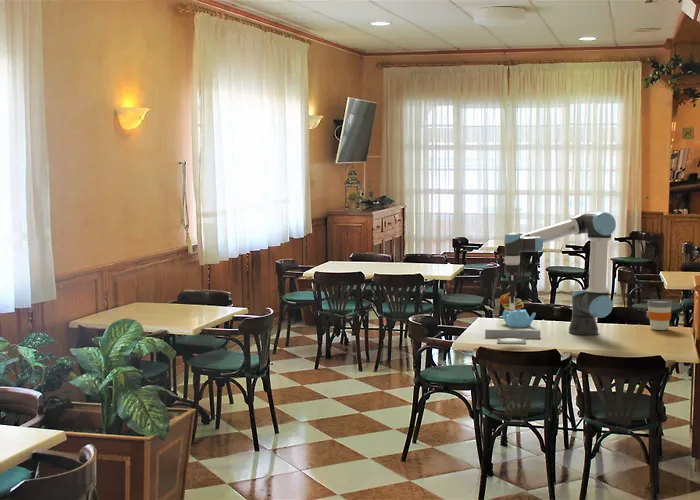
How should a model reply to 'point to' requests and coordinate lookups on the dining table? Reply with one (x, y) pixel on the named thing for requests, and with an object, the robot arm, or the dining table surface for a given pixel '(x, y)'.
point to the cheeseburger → (505, 302)
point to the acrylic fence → (512, 333)
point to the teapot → (518, 318)
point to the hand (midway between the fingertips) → (512, 308)
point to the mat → (511, 341)
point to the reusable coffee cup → (659, 314)
